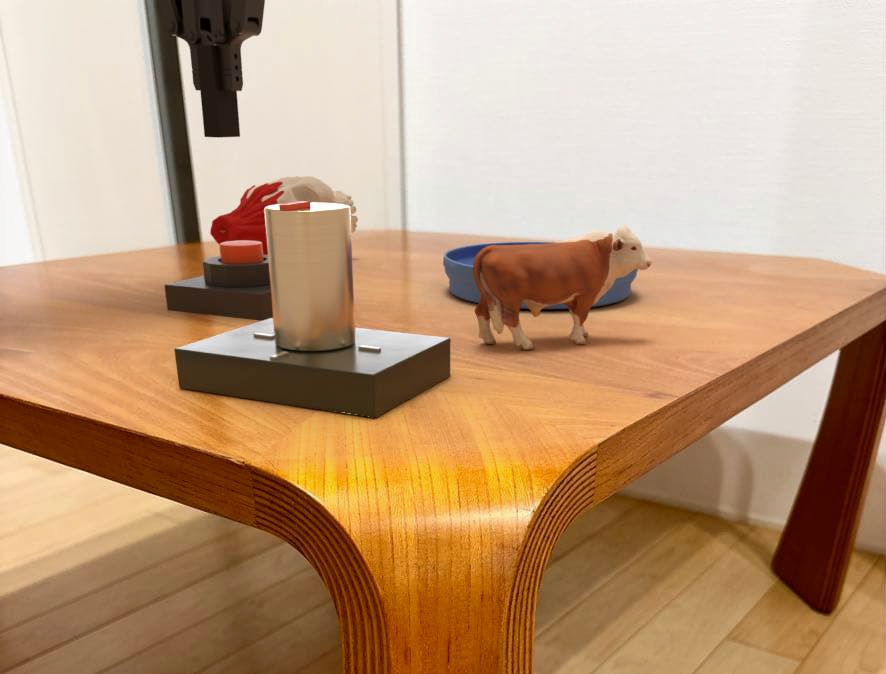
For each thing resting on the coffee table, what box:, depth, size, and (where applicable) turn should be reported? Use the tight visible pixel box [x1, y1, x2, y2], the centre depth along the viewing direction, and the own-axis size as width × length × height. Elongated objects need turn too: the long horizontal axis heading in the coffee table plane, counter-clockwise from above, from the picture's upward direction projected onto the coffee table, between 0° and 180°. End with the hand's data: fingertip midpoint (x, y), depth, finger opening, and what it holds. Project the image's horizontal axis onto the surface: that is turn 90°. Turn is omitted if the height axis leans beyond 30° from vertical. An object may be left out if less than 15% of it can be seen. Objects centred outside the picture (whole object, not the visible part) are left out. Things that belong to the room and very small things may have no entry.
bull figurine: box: [473, 225, 653, 350], centre depth 66 cm, size 4×13×8 cm, turn 105°
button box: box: [163, 255, 273, 321], centre depth 79 cm, size 10×9×4 cm
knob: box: [264, 201, 356, 351], centre depth 55 cm, size 5×5×8 cm
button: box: [218, 240, 264, 263], centre depth 78 cm, size 4×4×2 cm
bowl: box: [442, 241, 639, 310], centre depth 85 cm, size 18×18×4 cm
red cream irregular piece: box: [209, 175, 359, 255], centre depth 103 cm, size 9×11×15 cm
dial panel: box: [174, 318, 451, 418], centre depth 57 cm, size 14×10×3 cm
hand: (222, 136), depth 74 cm, fingers closed
